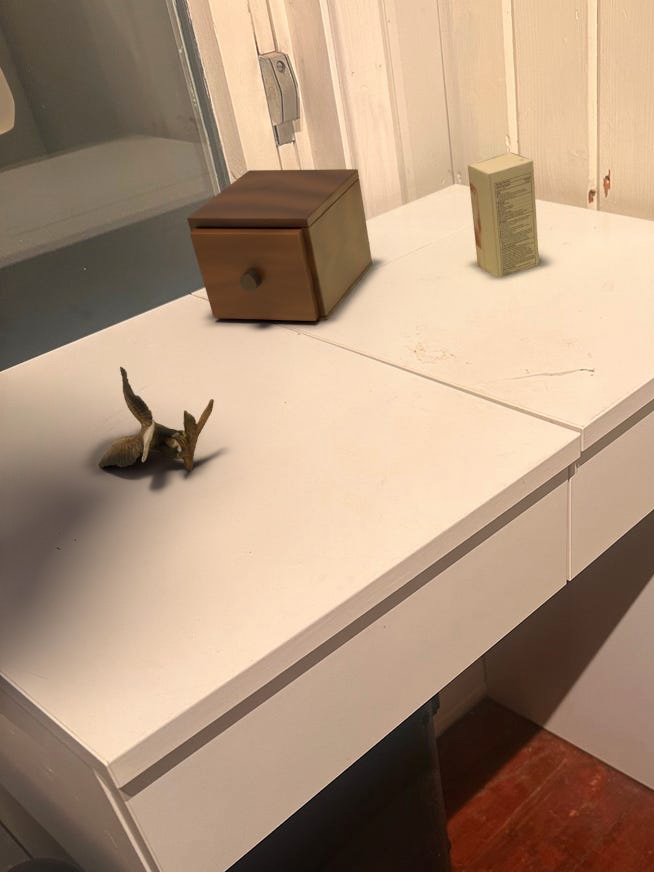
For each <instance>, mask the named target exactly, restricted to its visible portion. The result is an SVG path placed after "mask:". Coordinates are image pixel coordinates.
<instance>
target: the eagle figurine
mask: <svg viewBox="0 0 654 872" xmlns="http://www.w3.org/2000/svg"><path fill="white" fill-rule="evenodd" d="M119 371H120V376H121V380H122V395H123V398H124V401H125V403H126V406H127V408H128V410H129V412H130V413H131V414H132V415H133V417H134V418H135V419H136V420H137V421H138V422H139V424H140V430H139V432H138V433H136V434H133V435H125V436H121V437H118V438H116V440H114V441H112V443H111V445H110V446H109V447H108V450H107V451H106V453H105V454H104V456H103V457H102V458H101V460H100V461H99V463H98V467H99V468H100V469H103V468H104V467H109V466H117V467H120V468H123V467H127V466H132V465H133V463H135V462H136V460H137V458H138V457H140V456H141V453H142V457H141V462H142V463H144V462H145V461H146V460H147V457H148V455H149V452H156V453H160V454H161V455H163V456H165V457H169V458H171V459H176V460H182V461H183V466H184V468H185V469H186V470H187V471H188V472H191V471H193V470H194V463H195V461H194V459H195V451H196V447H197V443H198V439H199V436H200V435H201V433H202V431H203V429H204V428H205V426H206V423H207V421H208V420H209V418H210V416H211V414H212V412H213V408H214V402H215V400H214V399H213V398H211V399H209V401H208V404H207V406H206V407H205V409H204V410H203V411H202V413H201V415H200V417H199V419H198V421H196V418H195V416H194V415H192V414H191V413H189V412H188V411H187V410H183V422H182V423H183V430H182V429H176V428H170V427H168V426H166V425H164V424H162V423H158V422H157V421H155V419H153V413H152V410H151V409H150V408H149V406H148V405H147V403H146V402H145V401H144V400H143V398H142V397H141V396H140V395H138V394H135V393H134V390H133V388H132V385H131V384H130V382H129V378H128V372H127V371H126V369H125V368H124V367H122V366H120V367H119ZM178 446H179V448H180V450H178V449H176V448H177V447H178Z"/></svg>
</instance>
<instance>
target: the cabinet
mask: <svg viewBox="0 0 654 872" xmlns="http://www.w3.org/2000/svg"><path fill="white" fill-rule="evenodd" d="M186 220H187V223H188V227H189V231H190V233H191V232H192V231H194V230H195V229H211V228H210V227H301V229H302V231H303V236H304V241H305V246H306V251H307V256H308V260H309V265H310V270H311V275H312V280H313V285H314V290H315V295H316V300H317V305H318V310H319V317H318V318H317V319H316V321H328V320H329V319H330V317H331V316H332V315H333V314H334V313H335V311H336V310H337V309H338V308H339V306H340V305H341V304H342V303H343V301H345V299H346V298H347V296H348V295H349V294H350V293H351V292H352V290H353V289H354V288H355V286H357V284H358V283H359V282H360V280H361V279H362V278H363V277H364V275H366V273H367V272H368V270H369V269H370V268H371V267H372V266H373V259H372V252H371V246H370V239H369V233H368V226H367V221H366V213H365V206H364V200H363V192H362V187H361V181H360V174H359V169H357V168H347V169H346V168H345V169H344V168H341V169H340V168H339V169H338V168H337V169H335V168H333V169H253V170H252V169H251V170H248V171H246V172H245V173H244V174H242V175H241V176H240V177H238V178H237V179H236V180H235V181H234V182H232V183H231V184H229V185H228V186H226V188H224V189H223V190H222V191H220V192H219V193H218V194H217V195H215V196H214V197H213V198H211V199H210V200H208V201H207V202H206V203H204V204H203V205H202V206H201V207H199V208H198V209H197V210H195V211H194V212H193V213H192V214H190V215H188V216H187V218H186Z"/></svg>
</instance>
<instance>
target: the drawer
mask: <svg viewBox="0 0 654 872" xmlns="http://www.w3.org/2000/svg"><path fill="white" fill-rule="evenodd" d="M210 228H211V229H195V230H194V231H192V232H191V231H190V233H189V235H190V240H191V243H192V246H193V249H194V253H195V257H196V260H197V261H196V262H197V264H198V268H199V271H200V274H201V278H202V282H203V285H204V288H205V292H206V295H207V299H208V303H209V306H210V309H211V313H212V317H213V318H214V319H234V320H235V319H236V320H237V319H239V320H268V321H269V320H271V321H272V320H273V321H274V320H275V321H278V320H279V321H308V322H309V321H311V322H315V321H317V320H316V319H317V318H318V317H319V310H318V305H317V300H316V295H315V290H314V285H313V280H312V275H311V270H310V265H309V260H308V256H307V251H306V246H305V241H304V236H303V231H302V229H301V227H210Z"/></svg>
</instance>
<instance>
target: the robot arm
mask: <svg viewBox="0 0 654 872" xmlns="http://www.w3.org/2000/svg"><path fill="white" fill-rule="evenodd" d="M15 114H16V105H15V100H14V97H13V93H12V91H11V89H10V87H9V84H8V82H7V79H6V77H5V74H4V72H3V69H2V68H1V66H0V136H1V135H3V134H5V133H7V132H9V131H11V130H13V128H14V126H15V117H16V115H15Z"/></svg>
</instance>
